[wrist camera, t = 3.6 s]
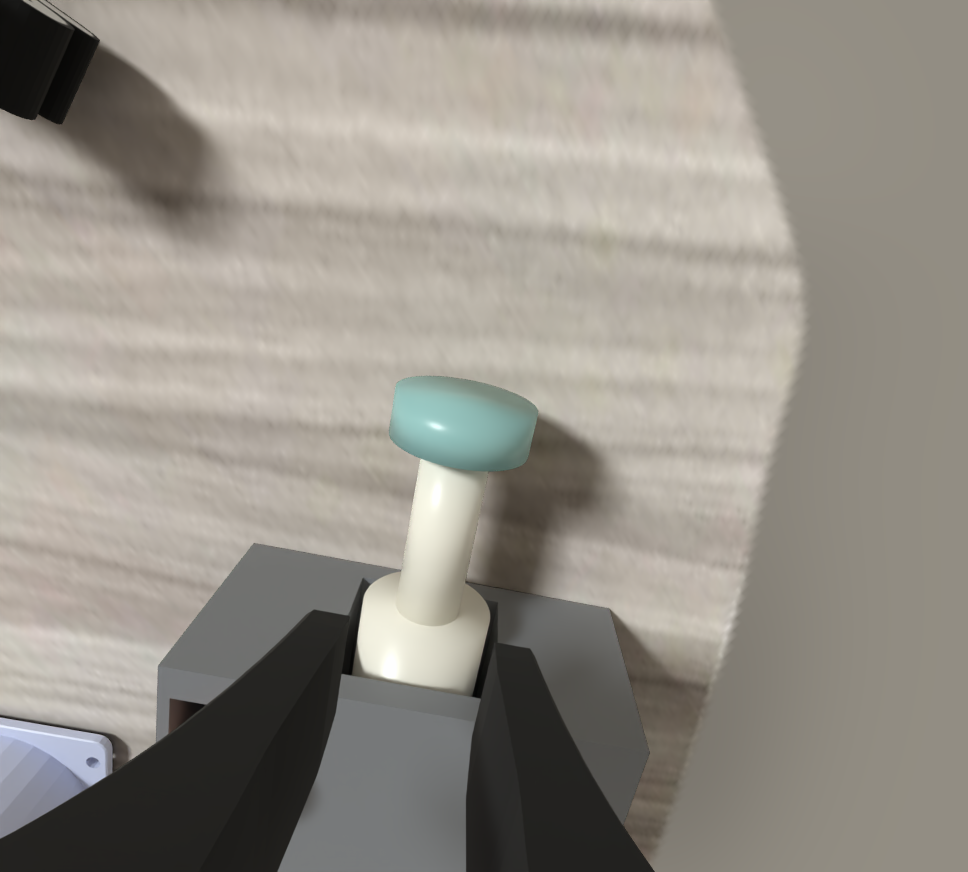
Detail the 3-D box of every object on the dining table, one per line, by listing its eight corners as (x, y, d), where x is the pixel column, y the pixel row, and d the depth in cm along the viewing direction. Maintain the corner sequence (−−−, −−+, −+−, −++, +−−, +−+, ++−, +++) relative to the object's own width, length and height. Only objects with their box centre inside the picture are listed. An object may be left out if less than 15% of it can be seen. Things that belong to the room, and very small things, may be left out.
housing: (555, 786, 23) (572, 966, 18) (238, 731, 23) (151, 897, 17) (609, 608, 21) (649, 752, 15) (253, 543, 20) (158, 666, 15)
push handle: (447, 776, 22) (436, 878, 18) (345, 758, 22) (316, 858, 18) (534, 392, 17) (542, 434, 14) (407, 367, 17) (384, 403, 14)
